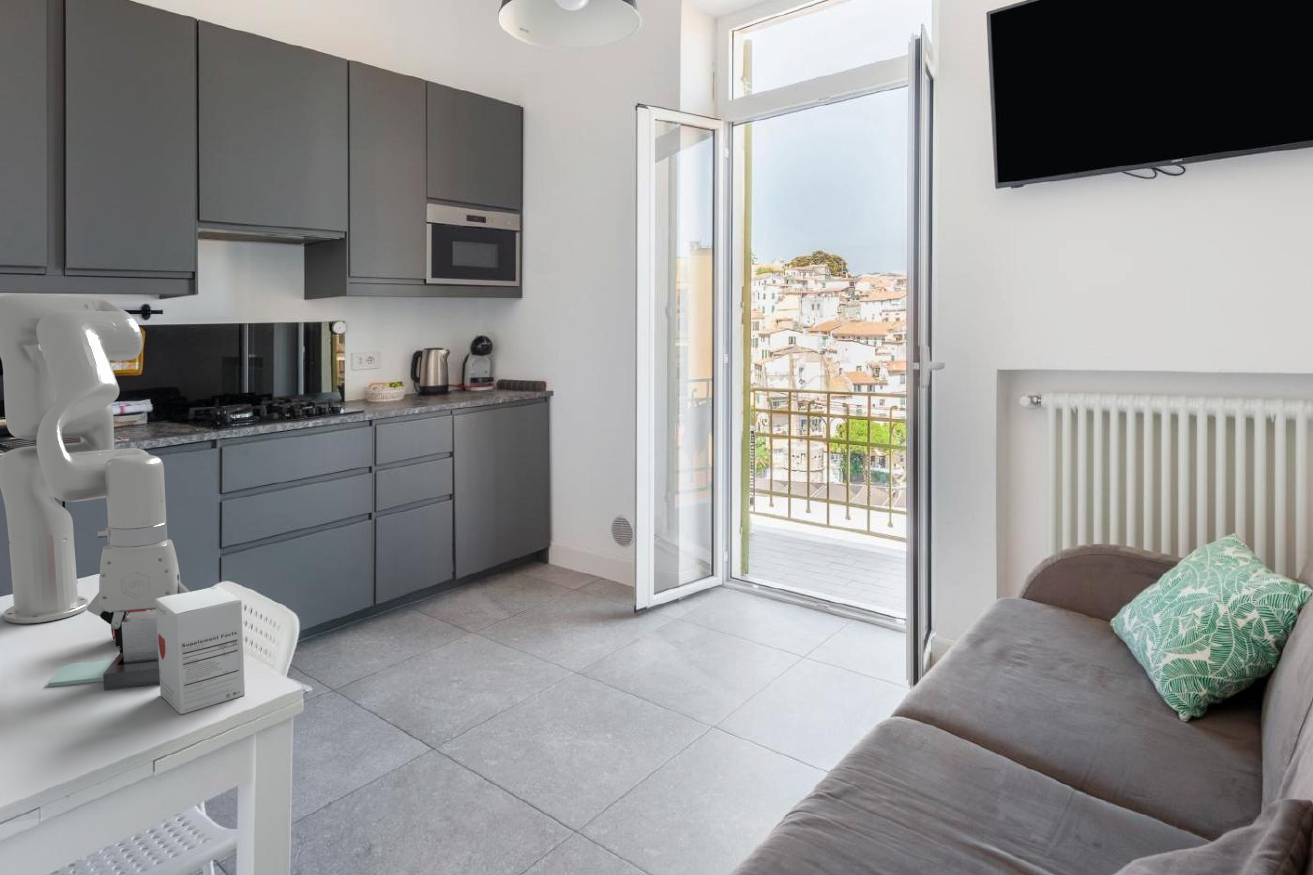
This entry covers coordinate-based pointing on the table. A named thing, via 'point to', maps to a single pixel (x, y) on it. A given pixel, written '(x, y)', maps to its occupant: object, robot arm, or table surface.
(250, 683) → the table surface
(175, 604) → the supplement box
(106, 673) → the dark grey slotted base
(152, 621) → the light grey rectangular block
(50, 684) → the coaster pad
